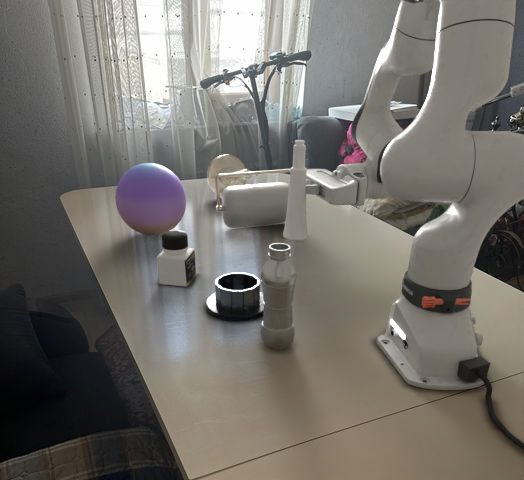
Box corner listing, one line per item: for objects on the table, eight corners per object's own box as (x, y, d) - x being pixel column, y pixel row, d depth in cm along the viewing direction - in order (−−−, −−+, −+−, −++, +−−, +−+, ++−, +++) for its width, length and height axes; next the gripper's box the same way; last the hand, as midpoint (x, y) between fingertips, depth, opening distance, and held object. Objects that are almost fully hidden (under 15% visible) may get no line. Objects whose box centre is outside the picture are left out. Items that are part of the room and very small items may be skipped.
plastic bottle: (283, 356, 96) (287, 256, 86) (253, 346, 99) (253, 248, 89) (300, 341, 101) (305, 245, 90) (270, 332, 104) (272, 237, 93)
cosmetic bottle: (312, 237, 125) (319, 141, 113) (294, 242, 122) (298, 144, 110) (296, 230, 129) (301, 137, 117) (277, 235, 126) (280, 139, 114)
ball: (116, 226, 158) (107, 158, 147) (181, 220, 164) (175, 154, 153) (124, 249, 142) (114, 175, 131) (195, 241, 148) (190, 169, 137)
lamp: (194, 224, 185) (222, 232, 149) (186, 157, 178) (214, 148, 141) (264, 216, 193) (307, 222, 156) (259, 152, 185) (304, 143, 149)
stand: (270, 321, 108) (271, 296, 105) (204, 321, 108) (202, 296, 104) (268, 292, 120) (269, 268, 116) (208, 292, 119) (207, 268, 116)
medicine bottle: (187, 287, 122) (183, 238, 115) (158, 284, 123) (153, 236, 116) (196, 275, 128) (193, 228, 121) (169, 272, 129) (164, 226, 122)
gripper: (329, 160, 130) (279, 164, 126) (370, 179, 114) (313, 184, 110) (327, 186, 134) (278, 190, 130) (367, 207, 117) (312, 213, 113)
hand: (294, 188), depth 120 cm, fingers closed on cosmetic bottle
